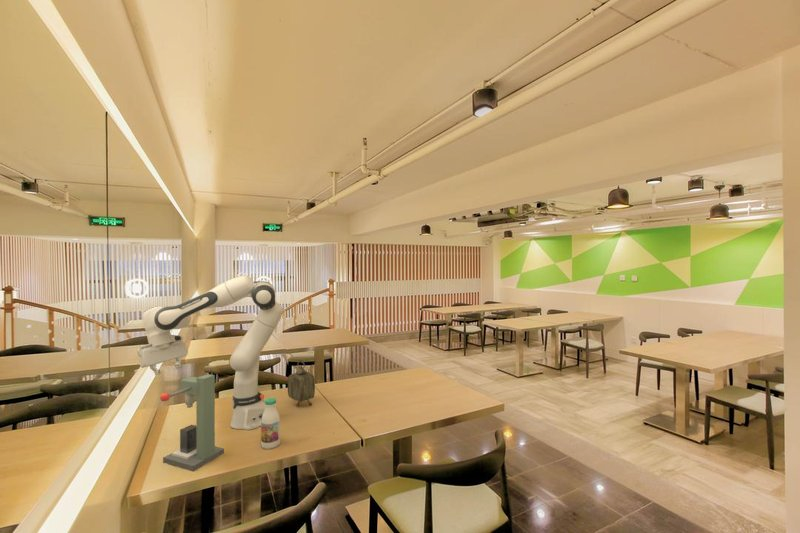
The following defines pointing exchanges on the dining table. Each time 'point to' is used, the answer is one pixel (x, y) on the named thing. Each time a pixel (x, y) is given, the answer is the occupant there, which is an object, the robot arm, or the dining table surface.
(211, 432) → the press
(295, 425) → the dining table surface
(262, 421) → the milk bottle
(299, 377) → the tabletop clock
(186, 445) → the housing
